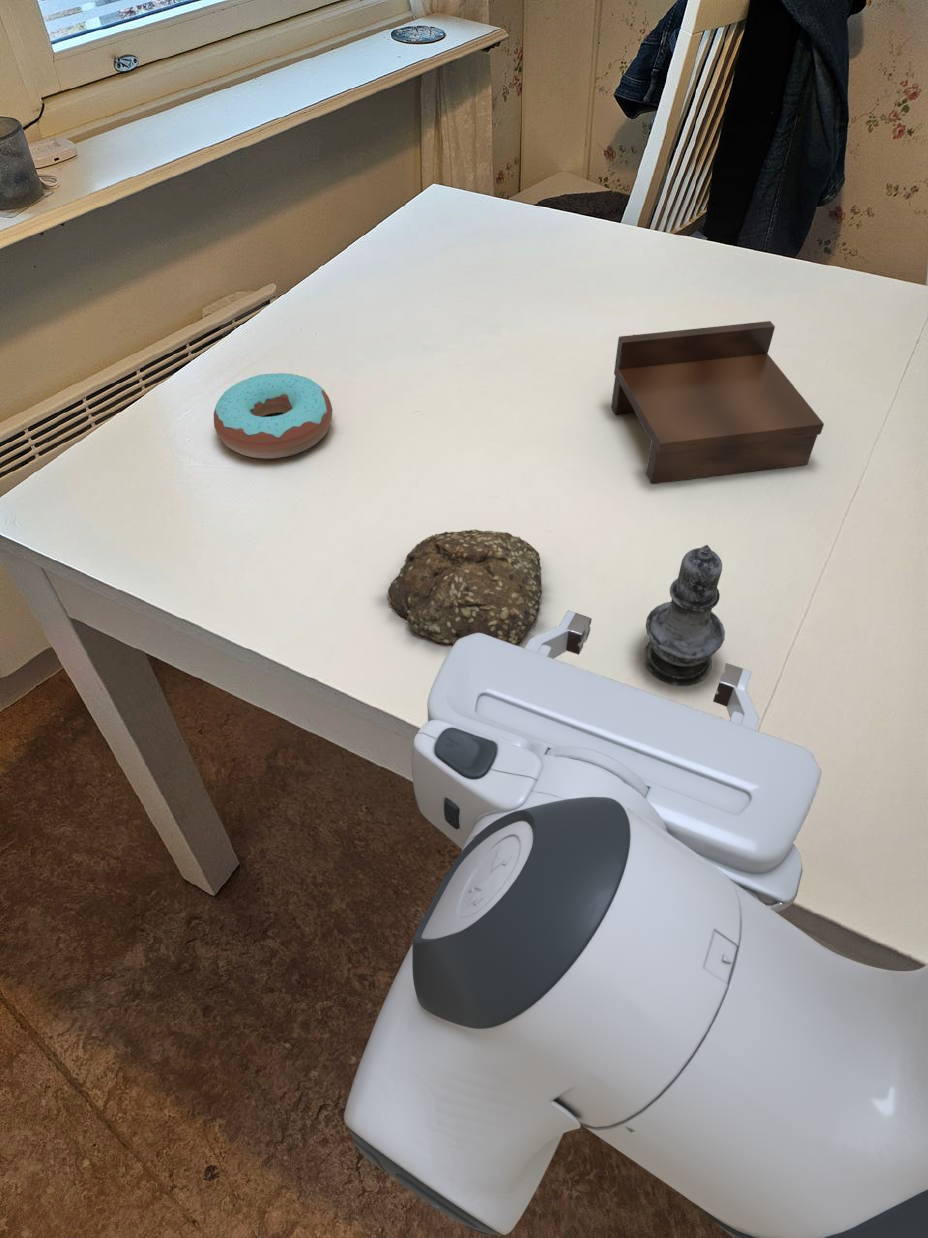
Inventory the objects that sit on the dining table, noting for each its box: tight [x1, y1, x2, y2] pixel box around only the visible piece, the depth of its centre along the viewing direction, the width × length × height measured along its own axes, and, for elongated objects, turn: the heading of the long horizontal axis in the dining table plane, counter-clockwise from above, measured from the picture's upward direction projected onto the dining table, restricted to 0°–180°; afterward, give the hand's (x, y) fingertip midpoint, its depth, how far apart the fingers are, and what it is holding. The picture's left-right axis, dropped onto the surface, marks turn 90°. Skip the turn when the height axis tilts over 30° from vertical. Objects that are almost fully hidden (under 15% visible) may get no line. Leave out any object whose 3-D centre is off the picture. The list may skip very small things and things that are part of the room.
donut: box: [213, 372, 333, 460], centre depth 88 cm, size 12×12×4 cm
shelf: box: [610, 320, 825, 485], centre depth 86 cm, size 16×14×8 cm
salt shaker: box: [642, 544, 726, 686], centre depth 64 cm, size 6×6×12 cm
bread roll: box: [387, 529, 543, 645], centre depth 71 cm, size 13×12×5 cm
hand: (655, 646), depth 50 cm, fingers open, 8 cm apart
